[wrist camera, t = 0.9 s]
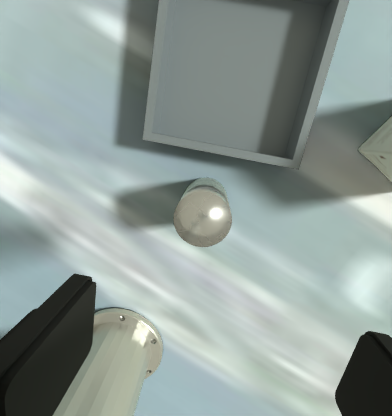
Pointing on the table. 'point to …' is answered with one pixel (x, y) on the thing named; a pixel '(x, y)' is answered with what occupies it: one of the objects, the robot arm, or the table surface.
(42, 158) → the table surface
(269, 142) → the tray
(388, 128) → the supplement box
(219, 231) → the tin can
